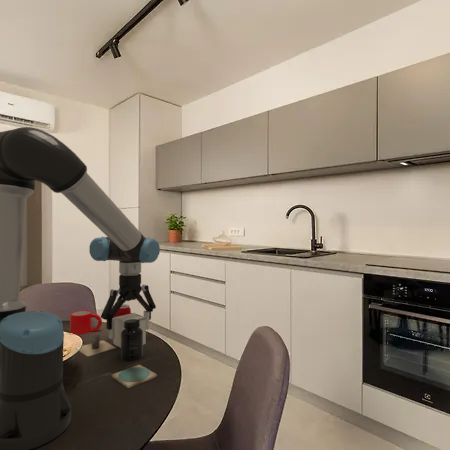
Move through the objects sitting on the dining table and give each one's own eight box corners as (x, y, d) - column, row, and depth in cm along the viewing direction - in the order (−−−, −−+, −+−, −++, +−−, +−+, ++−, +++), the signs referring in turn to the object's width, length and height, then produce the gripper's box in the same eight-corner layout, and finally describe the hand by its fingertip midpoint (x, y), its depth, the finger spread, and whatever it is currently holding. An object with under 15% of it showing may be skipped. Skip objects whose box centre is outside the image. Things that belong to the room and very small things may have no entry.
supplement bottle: (145, 354, 105) (146, 318, 105) (138, 363, 98) (138, 324, 98) (125, 353, 106) (126, 317, 105) (116, 362, 99) (117, 323, 99)
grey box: (125, 351, 107) (125, 322, 107) (113, 345, 112) (113, 317, 112) (145, 345, 112) (145, 317, 112) (133, 339, 118) (133, 312, 118)
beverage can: (115, 335, 123) (115, 304, 123) (131, 334, 123) (132, 303, 123) (111, 341, 116) (111, 308, 116) (128, 340, 117) (129, 308, 117)
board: (87, 358, 101) (87, 343, 101) (74, 349, 108) (74, 336, 108) (116, 349, 109) (116, 336, 109) (102, 341, 115) (103, 329, 115)
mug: (99, 335, 122) (99, 315, 122) (66, 336, 120) (66, 316, 120) (104, 329, 130) (105, 309, 130) (74, 329, 128) (74, 310, 128)
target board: (128, 388, 83) (128, 385, 83) (111, 376, 89) (111, 374, 89) (156, 376, 90) (156, 373, 90) (139, 366, 96) (139, 364, 96)
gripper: (101, 279, 101) (100, 346, 101) (165, 271, 119) (164, 327, 119) (90, 276, 106) (90, 339, 106) (153, 269, 124) (153, 323, 124)
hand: (129, 333), depth 112 cm, fingers open, 13 cm apart
